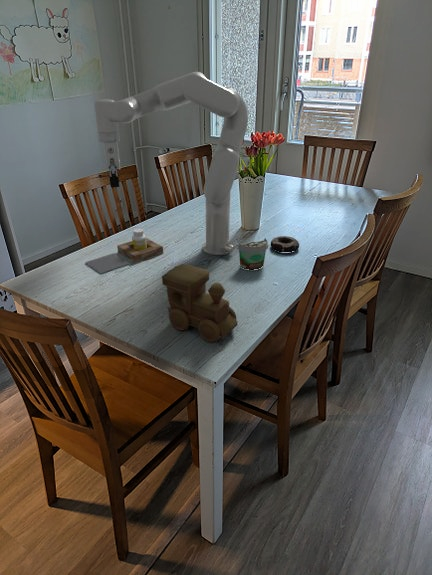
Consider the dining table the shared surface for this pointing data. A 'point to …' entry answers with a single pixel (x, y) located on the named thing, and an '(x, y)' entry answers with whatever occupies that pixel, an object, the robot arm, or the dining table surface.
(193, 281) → the wooden toy train
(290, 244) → the donut
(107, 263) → the rubber mat
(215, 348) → the dining table surface
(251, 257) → the food container
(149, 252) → the socket block
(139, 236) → the supplement bottle
